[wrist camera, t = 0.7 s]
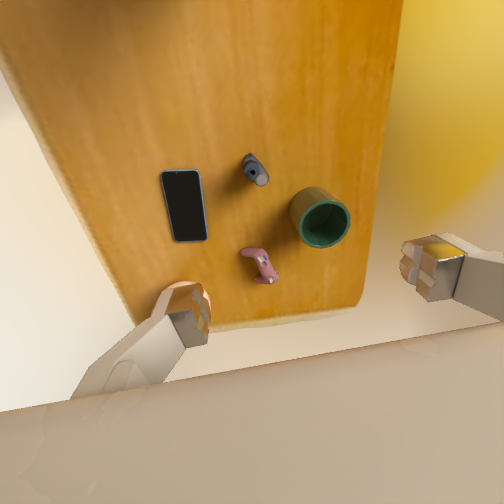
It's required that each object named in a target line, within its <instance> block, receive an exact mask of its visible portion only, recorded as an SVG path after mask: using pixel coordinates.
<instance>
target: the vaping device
mask: <svg viewBox="0 0 504 504" xmlns="http://www.w3.org/2000/svg"><path fill="white" fill-rule="evenodd" d="M243 169H244V173H245V176H246V177H247V178H248V179H251V180H253V181H254V182H255V184H256V185H257V186H260V187H262V186H265V185H266V184H267V183H268V181H269V175H268V174H267V172H266V170H265V168H264V167H263V166H262V165H261V163H260V162H259V161H258V160H257V159H256V157H255V156H254V155H253V154H252V153H250V154H248V155H246V156H245V157H244V159H243Z"/></svg>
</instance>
